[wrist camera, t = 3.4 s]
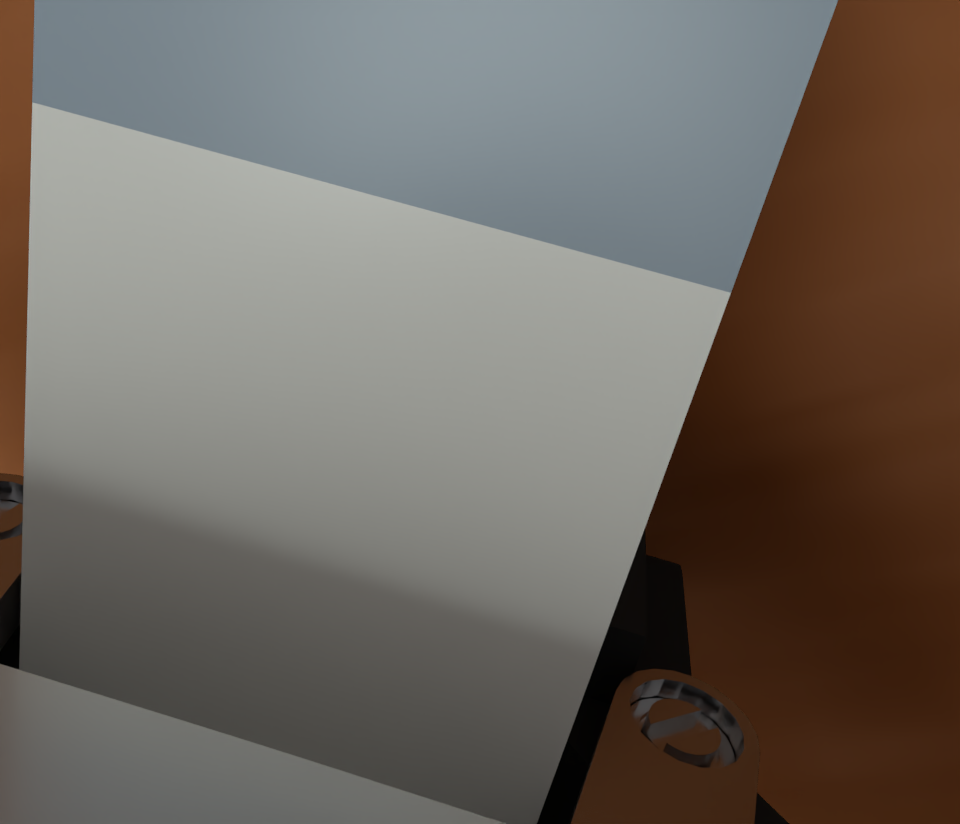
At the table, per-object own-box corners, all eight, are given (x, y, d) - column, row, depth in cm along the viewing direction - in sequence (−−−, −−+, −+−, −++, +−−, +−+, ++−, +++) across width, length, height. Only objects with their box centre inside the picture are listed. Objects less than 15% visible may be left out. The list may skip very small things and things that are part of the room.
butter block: (453, 866, 15) (349, 1335, 10) (233, 796, 15) (5, 1215, 10) (738, -25, 9) (888, -135, 4) (381, -114, 10) (41, -338, 4)
